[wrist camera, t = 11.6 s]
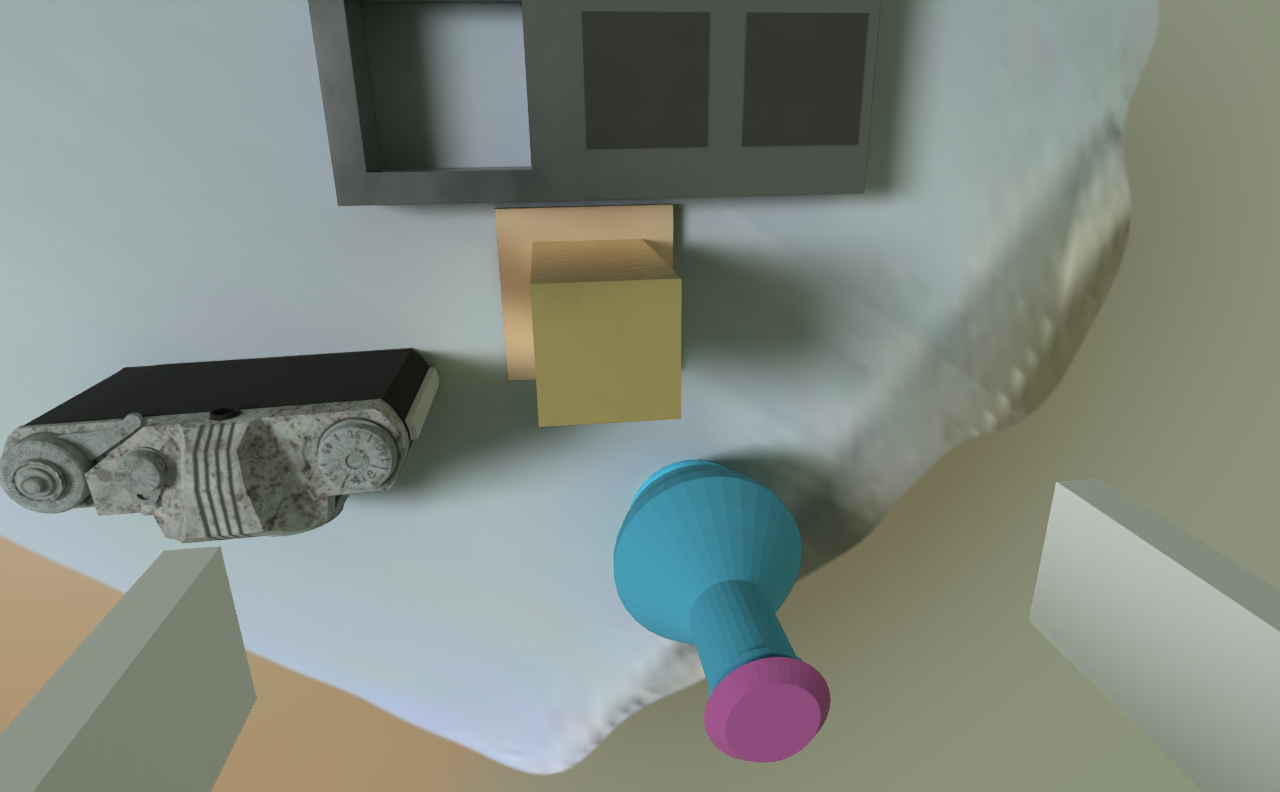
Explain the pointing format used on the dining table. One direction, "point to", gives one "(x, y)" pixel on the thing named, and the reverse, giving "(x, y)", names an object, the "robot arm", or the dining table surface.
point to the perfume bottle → (724, 601)
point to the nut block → (605, 332)
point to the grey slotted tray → (639, 102)
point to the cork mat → (562, 225)
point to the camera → (226, 442)
